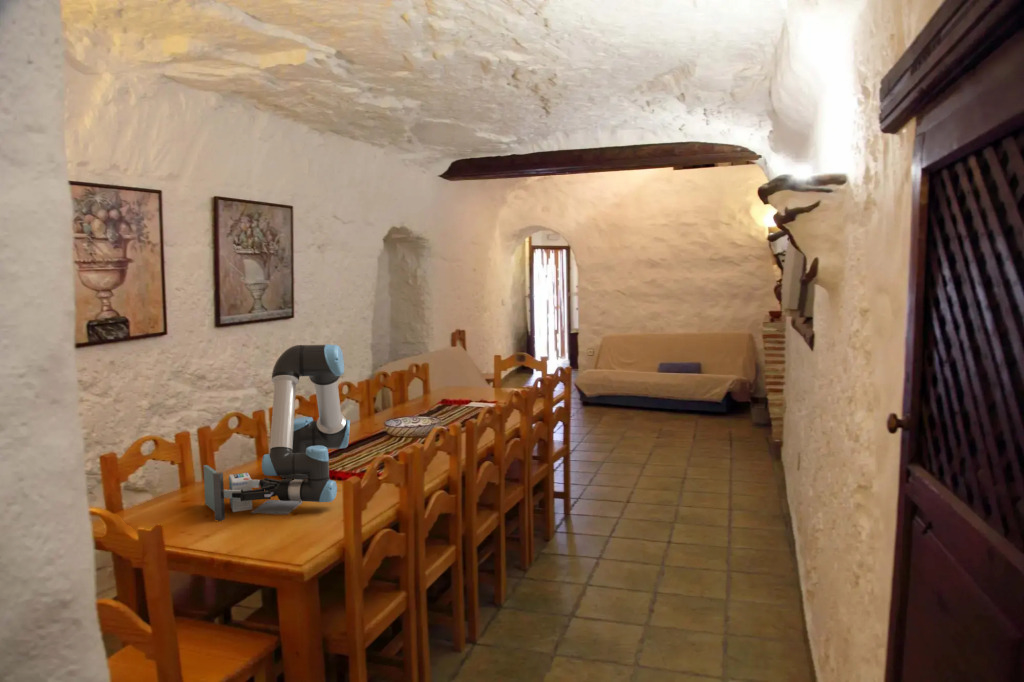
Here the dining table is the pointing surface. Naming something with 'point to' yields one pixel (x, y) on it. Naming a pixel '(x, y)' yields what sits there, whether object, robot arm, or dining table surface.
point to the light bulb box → (240, 483)
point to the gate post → (219, 496)
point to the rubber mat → (276, 507)
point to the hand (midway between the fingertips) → (233, 488)
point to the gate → (209, 486)
